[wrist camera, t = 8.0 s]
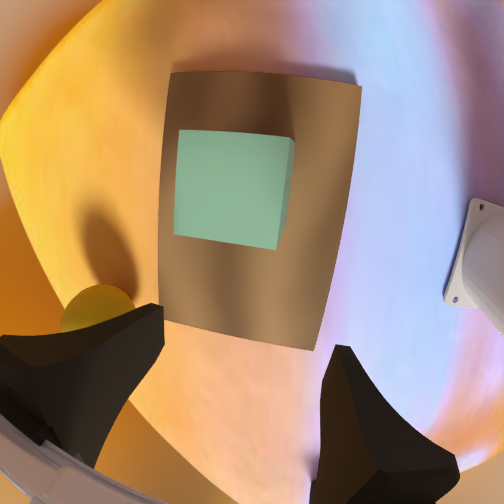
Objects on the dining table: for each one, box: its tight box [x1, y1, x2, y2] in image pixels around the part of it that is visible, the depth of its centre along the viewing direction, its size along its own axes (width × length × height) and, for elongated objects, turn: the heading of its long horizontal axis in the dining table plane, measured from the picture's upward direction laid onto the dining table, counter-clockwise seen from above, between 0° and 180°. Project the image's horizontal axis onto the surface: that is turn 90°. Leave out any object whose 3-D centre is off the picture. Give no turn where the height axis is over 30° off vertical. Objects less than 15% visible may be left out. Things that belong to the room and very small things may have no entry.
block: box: [173, 130, 296, 250], centre depth 15 cm, size 5×5×5 cm
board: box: [158, 71, 362, 351], centre depth 19 cm, size 12×18×1 cm, turn 174°
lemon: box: [61, 284, 135, 333], centre depth 20 cm, size 6×6×8 cm
